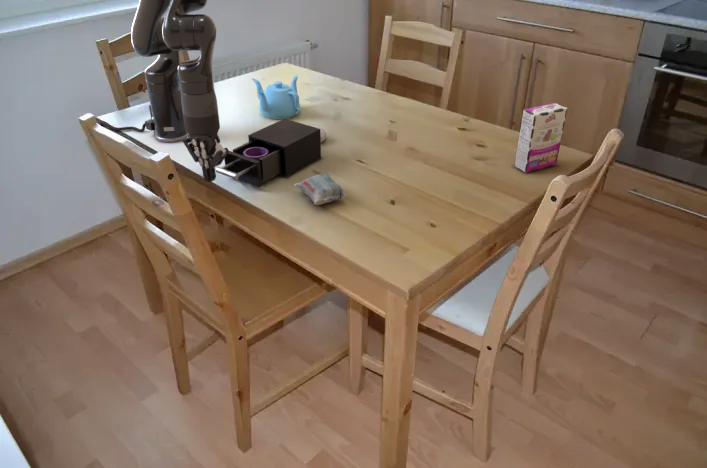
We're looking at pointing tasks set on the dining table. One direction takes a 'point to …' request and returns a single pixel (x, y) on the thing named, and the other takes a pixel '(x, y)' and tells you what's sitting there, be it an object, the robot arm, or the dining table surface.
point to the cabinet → (292, 143)
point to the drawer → (253, 164)
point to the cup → (255, 153)
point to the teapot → (278, 99)
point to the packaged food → (321, 189)
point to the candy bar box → (540, 137)
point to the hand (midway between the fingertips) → (210, 180)
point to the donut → (322, 131)
